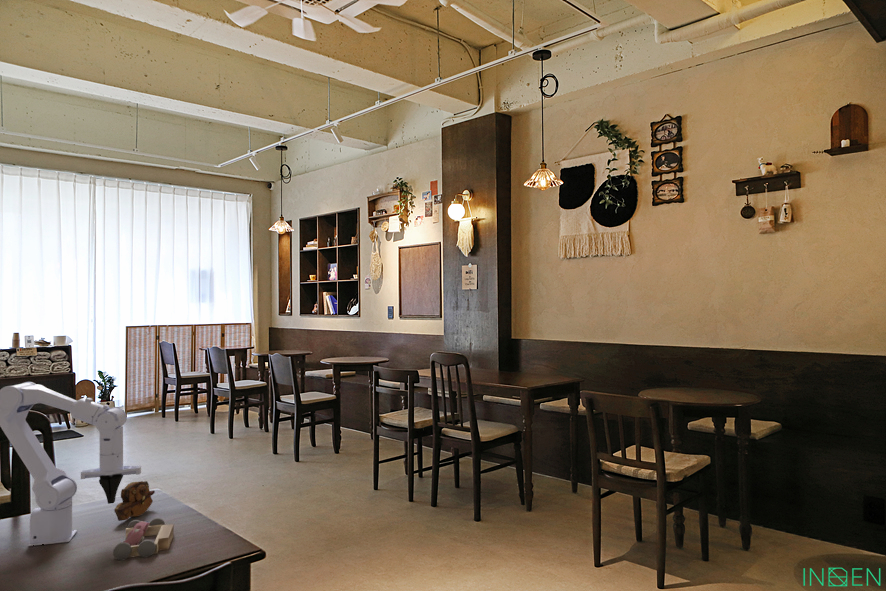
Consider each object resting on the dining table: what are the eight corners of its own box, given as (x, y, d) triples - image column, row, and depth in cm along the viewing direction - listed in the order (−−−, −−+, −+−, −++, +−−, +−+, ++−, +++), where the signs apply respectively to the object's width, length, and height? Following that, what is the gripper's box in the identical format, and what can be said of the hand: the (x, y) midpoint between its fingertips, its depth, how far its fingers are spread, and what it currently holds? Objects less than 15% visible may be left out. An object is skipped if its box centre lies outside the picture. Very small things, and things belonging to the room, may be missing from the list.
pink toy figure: (133, 558, 156) (146, 533, 157) (115, 552, 155) (129, 526, 156) (142, 543, 166) (155, 519, 166) (126, 537, 165) (139, 513, 165)
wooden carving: (128, 526, 174) (128, 491, 174) (113, 526, 175) (113, 491, 175) (157, 506, 191) (157, 475, 191) (143, 506, 191) (143, 474, 191)
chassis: (112, 561, 151) (112, 545, 151) (127, 535, 167) (127, 520, 167) (166, 554, 154) (166, 539, 154) (175, 530, 171) (175, 515, 171)
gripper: (77, 458, 161) (77, 509, 161) (137, 454, 165) (137, 504, 165) (84, 452, 167) (84, 501, 167) (142, 448, 172) (142, 496, 172)
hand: (111, 502), depth 166 cm, fingers closed
